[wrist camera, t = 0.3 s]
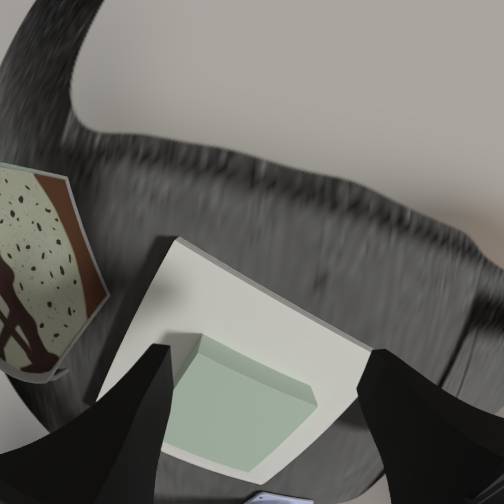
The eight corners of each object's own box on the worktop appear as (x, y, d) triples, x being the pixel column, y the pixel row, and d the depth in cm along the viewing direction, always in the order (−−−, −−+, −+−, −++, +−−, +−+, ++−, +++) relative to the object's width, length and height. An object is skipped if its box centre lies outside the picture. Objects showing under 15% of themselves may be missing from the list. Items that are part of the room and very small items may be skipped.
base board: (260, 474, 24) (263, 502, 20) (96, 404, 21) (80, 431, 17) (379, 352, 22) (401, 377, 18) (179, 236, 19) (165, 247, 15)
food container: (12, 193, 17) (-79, 203, 8) (62, 158, 17) (-36, 147, 8) (63, 331, 20) (-6, 397, 10) (119, 313, 20) (52, 392, 10)
